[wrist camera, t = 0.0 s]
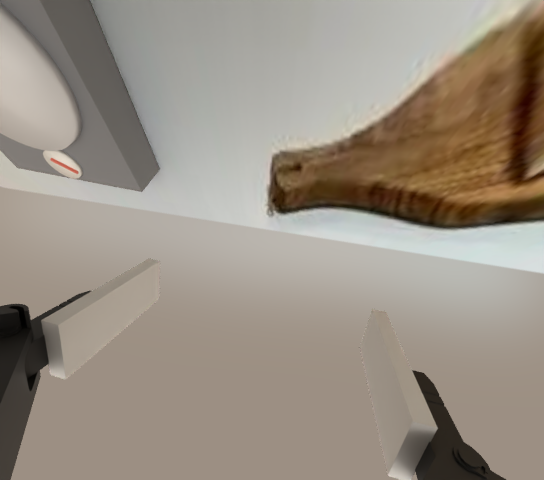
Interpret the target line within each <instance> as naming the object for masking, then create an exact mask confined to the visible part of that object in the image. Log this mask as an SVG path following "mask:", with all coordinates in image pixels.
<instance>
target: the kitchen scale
mask: <svg viewBox="0 0 544 480" xmlns="http://www.w3.org/2000/svg"><path fill="white" fill-rule="evenodd" d="M0 150H1V151H2V152H3V153H4V154H5V156H6V157H7V158H8V159H9V160H10V161H11V162H12V163H13V164H14V165H15V166H16V167H17V168H21V169H26V170H31V171H36V172H41V173H47V174H52V175H57V176H62V177H67V178H73V179H78V180H83V181H88V182H93V183H99V184H104V185H109V186H114V187H119V188H125V189H130V190H135V191H140V192H142V191H143V190H144V189H145V187H146V186H147V185H148V183H149V182H150V181H151V180H152V178H153V177H154V176H155V174H156V173H157V172H158V170H159V166H158V164H157V162H156V159H155V157H154V154H153V152H152V150H151V147H150V145H149V142H148V140H147V138H146V135H145V133H144V130H143V128H142V126H141V123H140V121H139V118H138V116H137V114H136V111H135V109H134V106H133V104H132V102H131V99H130V97H129V94H128V92H127V90H126V87H125V85H124V82H123V80H122V78H121V75H120V73H119V70H118V68H117V66H116V63H115V61H114V58H113V56H112V54H111V51H110V49H109V46H108V44H107V42H106V39H105V37H104V34H103V32H102V30H101V27H100V25H99V22H98V20H97V18H96V15H95V13H94V10H93V8H92V6H91V3H90V1H89V0H0Z"/></svg>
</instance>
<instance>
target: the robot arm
mask: <svg viewBox="0 0 544 480" xmlns="http://www.w3.org/2000/svg"><path fill="white" fill-rule="evenodd" d="M159 287H160V261H158V260H153V259H147V260H146V261H144V262H142V263H140V264H138V265H137V266H135V267H133V268H131V269H130V270H128V271H126V272H124V273H123V274H121V275H119V276H117V277H116V278H114V279H112V280H111V281H109V282H107V283H105V284H104V285H102V286H100V287H98V288H97V289H95V290H93V291H87V292H84V293H81V294H78V295H76V296H74V297H72V298H71V299H69V300H67V302H63V303H62V304H60V305H59V306H56V307H54V308H52V309H51V310H49V311H47V312H45V313H43V314H42V315H40V316H38V317H36V318H34V319H33V320H30V314H29V309H28V307H27V306H26V305H22V304H10V305H4V306H0V480H10V479H11V476H12V472H13V469H14V466H15V462H16V459H17V455H18V451H19V448H20V445H21V441H22V438H23V435H24V431H25V428H26V424H27V421H28V417H29V414H30V411H31V407H32V404H33V401H34V397H35V394H36V390H37V386H38V383H39V380H40V369H42V368H43V367H44V366H46V365H47V364H48V365H49V371H50V375H53V376H56V377H60V378H63V379H67V378H68V377H69V376H70V375H72V374H73V373H74V372H75V371H76V370H77V369H79V368H80V367H81V366H82V365H83V364H85V363H86V362H87V361H88V360H89V359H90V358H91V357H93V356H94V355H95V354H96V353H97V352H98V351H100V350H101V349H102V348H103V347H104V346H105V345H106V344H108V343H109V342H110V341H111V340H112V339H113V338H115V337H116V336H117V335H118V334H119V333H120V332H122V331H123V330H124V329H125V328H126V327H127V326H129V325H130V324H131V323H132V322H133V321H134V320H135V319H137V318H138V317H139V316H140V315H141V314H142V313H144V312H145V311H146V310H147V309H148V308H149V307H150V306H152V305H153V304H154V303H155V302H156V301H157V300H159V298H160V296H159V294H160V288H159ZM360 352H361V357H362V361H363V366H364V370H365V375H366V379H367V384H368V389H369V393H370V398H371V402H372V407H373V411H374V416H375V421H376V425H377V430H378V434H379V439H380V443H381V448H382V452H383V457H384V462H385V466H386V471H387V475H388V476H390V477H393V478H397V479H400V480H411V479H412V477H413V475H414V473H415V472H416V475H417V478H418V480H506V479H504V478H502V477H501V476H499V475H497V474H495V473H494V472H492V471H491V470H490V468H489V466H488V464H487V463H486V462H485V460H484V459H483V458H482V457H481V455H479V453H477V452H476V451H475V450H474V449H473V448H472V447H470V446H469V445H467V444H466V443H464V442H463V440H462V438H461V436H460V434H459V432H458V430H457V428H456V427H455V424H454V422H453V421H452V419H451V417H450V415H449V413H448V411H447V409H446V407H444V403H443V401H442V399H441V397H439V393H438V391H437V389H436V388H435V386H434V384H433V383H432V382H431V381H430V379H429V378H428V377H427V376H426V375H425V374H424V373H421V372H417V371H413V370H412V369H411V367H410V365H409V363H408V360H407V358H406V356H405V354H404V351H403V349H402V347H401V345H400V342H399V340H398V338H397V336H396V334H395V331H394V329H393V327H392V325H391V322H390V320H389V318H388V315H387V313H386V312H383V311H379V310H375V309H372V311H371V315H370V318H369V320H368V323H367V327H366V330H365V333H364V336H363V339H362V342H361V345H360Z"/></svg>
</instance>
